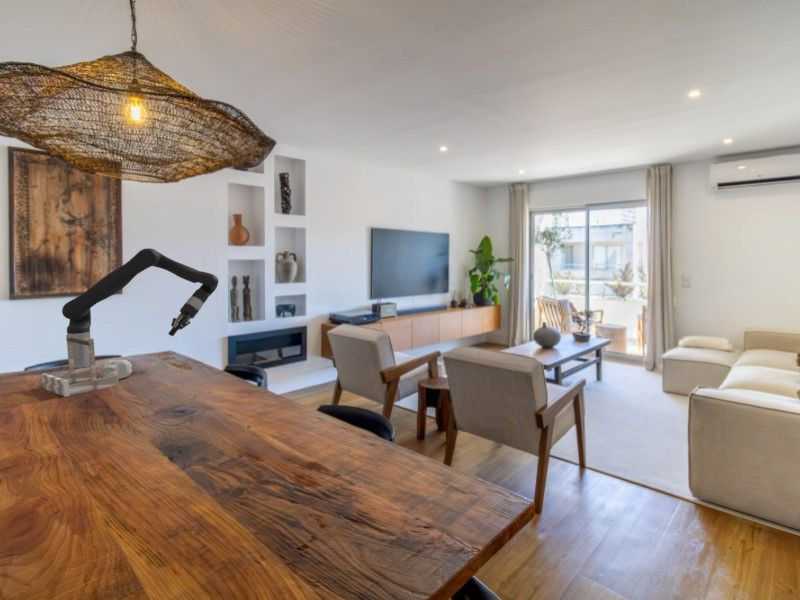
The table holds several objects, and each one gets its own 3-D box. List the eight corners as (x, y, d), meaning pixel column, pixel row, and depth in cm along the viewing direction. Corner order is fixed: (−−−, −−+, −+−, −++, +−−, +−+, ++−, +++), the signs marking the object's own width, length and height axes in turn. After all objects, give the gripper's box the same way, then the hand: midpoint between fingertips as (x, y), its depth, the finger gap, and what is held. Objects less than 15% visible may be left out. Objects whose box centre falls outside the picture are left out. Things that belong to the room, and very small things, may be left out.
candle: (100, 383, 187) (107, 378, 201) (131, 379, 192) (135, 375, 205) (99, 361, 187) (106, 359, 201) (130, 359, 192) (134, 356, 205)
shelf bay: (42, 388, 182) (38, 338, 180) (95, 377, 198) (91, 331, 196) (65, 396, 170) (60, 343, 168) (118, 384, 186) (115, 335, 184)
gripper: (179, 302, 225) (157, 329, 216) (193, 303, 218) (171, 331, 209) (190, 311, 230) (169, 338, 221) (204, 312, 222) (183, 340, 214)
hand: (170, 334), depth 215 cm, fingers closed
